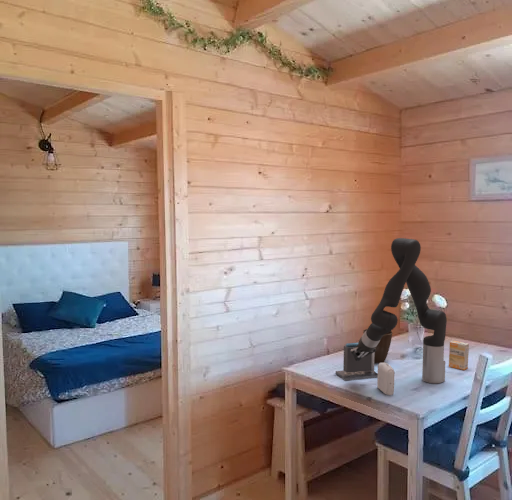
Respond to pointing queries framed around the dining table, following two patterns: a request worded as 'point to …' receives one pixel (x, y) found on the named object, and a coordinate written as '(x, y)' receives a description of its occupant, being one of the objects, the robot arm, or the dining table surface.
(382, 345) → the plant pot
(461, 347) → the supplement box
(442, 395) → the dining table surface
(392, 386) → the photo printer
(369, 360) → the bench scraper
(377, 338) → the robot arm
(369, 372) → the panel
